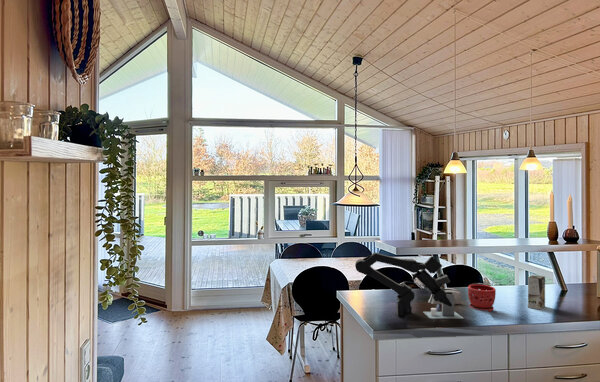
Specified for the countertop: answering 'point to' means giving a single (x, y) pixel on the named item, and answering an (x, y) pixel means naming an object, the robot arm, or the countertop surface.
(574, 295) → the countertop surface
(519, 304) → the countertop surface
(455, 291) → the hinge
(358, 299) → the countertop surface
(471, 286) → the plant pot
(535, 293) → the coffee box
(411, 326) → the countertop surface
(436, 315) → the base plate
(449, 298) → the steel sleeve
